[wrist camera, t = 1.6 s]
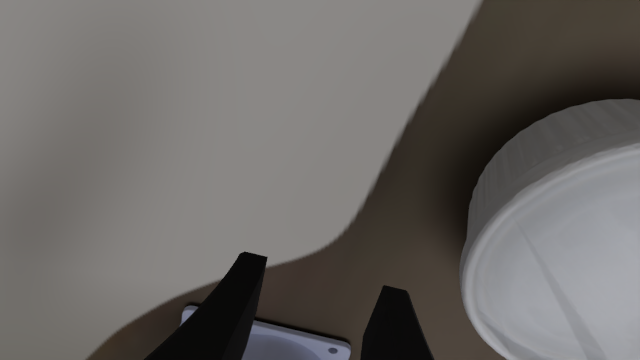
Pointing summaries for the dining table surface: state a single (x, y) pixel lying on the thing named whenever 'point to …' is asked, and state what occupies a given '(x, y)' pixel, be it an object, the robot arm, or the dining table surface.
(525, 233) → the ramekin
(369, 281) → the dining table surface
